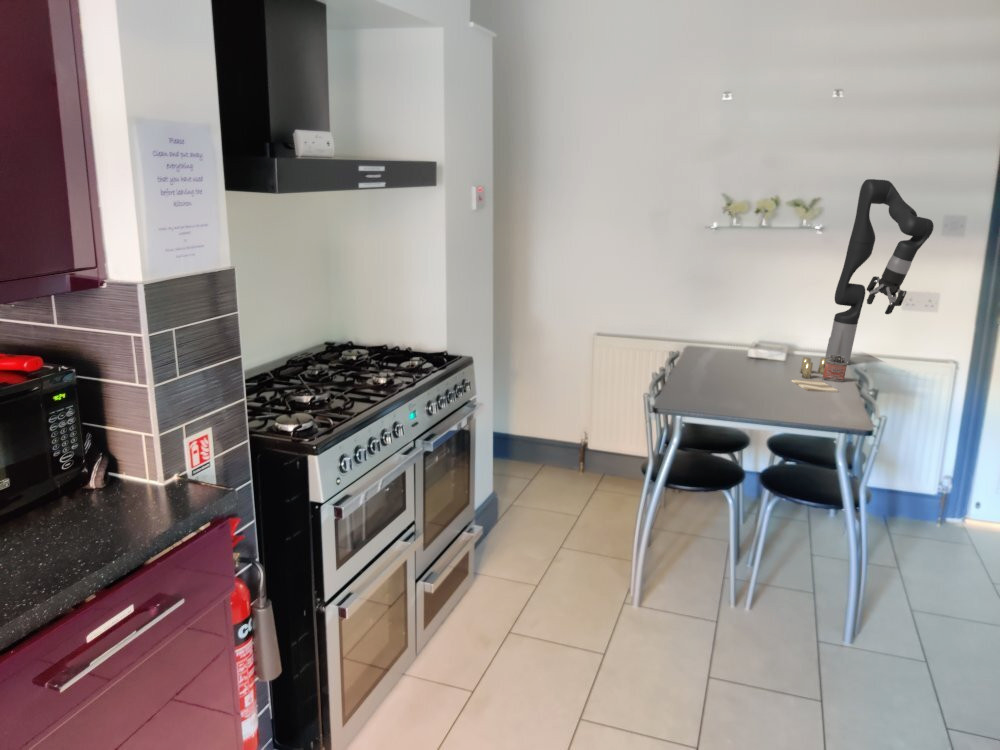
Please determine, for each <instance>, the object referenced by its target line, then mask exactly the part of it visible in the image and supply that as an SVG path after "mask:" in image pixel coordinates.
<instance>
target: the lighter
mask: <svg viewBox="0 0 1000 750" xmlns="http://www.w3.org/2000/svg"><path fill="white" fill-rule="evenodd" d="M828 358H832V359H831V360H826V361H825V362H826V364H825V369H824V373H823V374H822V376H821V377H822V378H821V380H822V381H827V382H831V383H832V382H833V383H845V376H846V370H847V367H848V365H849V364H848V363H847V362H844V361H845V358H846V357H842V356H840V355H837V356H836V355H829V357H828ZM841 360H842V361H841Z"/></svg>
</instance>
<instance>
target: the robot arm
mask: <svg viewBox="0 0 1000 750" xmlns="http://www.w3.org/2000/svg"><path fill="white" fill-rule="evenodd" d="M857 201H858V202H857V207H856V213H855V218H854V222H853V227H852V231H851V234H850V238H849V242H848V246H847V250H846V255H845V258H844V263H843V267H842V271H841V274H840V276H839V279H838V282H837V286H836V288H835V289H836V290H835V293H834V302H835V304H837V305H838V306H845V307H850V308H849V309H847V310H845V311H841V312H837V313H835V314H834V318H833V323H832V328H831V332H830V336H829V338H828V343H827V347H826V351H825V357H824V358H828V357H829V355H836V356H837V355H840V356H842V357H846V358H845V361H844V362H849V363H850V361H851V360H850V359H851V356H852V351H853V346H854V342H855V338H856V333H857V328H858V323H859V319H860V317H861V312H862V308H863V304H864V301H865V298H866V291H867V292H868V293H869V295H868V297H867V299H866V304H867V305H872V304H873V303H874V300H875V298H876V296H877V295H876V294H878V293H880V294H883V295H884V296H886V297H887V298H888V302H889V304H887V305H888V306H887V308H886V309H885V311H884V314H885V315H890V314H892V313H893V310H894V309H895V307H901V306H902V304H903V303H904V300H905V298H906V294H907V290H903V289H901V288H900V287H901V286H902V284H903V283H904V281H905V278H906V276H907V275H908V272H909V270H910V269H911V265H912V263H913V260H914V259H915V257H916V254H917V252H918V251H919V250H920V248H921V247H922V246H923V245H924V243H925V242H926V241H927V240H928V239H929V238H930V236H931V235H932V233H933V231H934V225H935V224H934V222H933V221H932V219H929V218H927V217H926V218H925V217H921V216H918V214H917V212H916V210H915V209H914V208H912V206H910V205H909V204H908V202H907V203H906V202H905V200H904V199H903V197H902V196H901V194H900V193H899V191H898V190H897V188H896V186H895V185H894V184H893V182H891V181H890V180H885V179H875V178H867V179H866V180H864V181H863V183H862V185H861V187H860V188H859V194H858V199H857ZM872 204H873V205H882V204H883V205H886V206H888V214H889V216H890V218H891V219H892V220H893V221H894V222H895V223H896V224H898V225H897V226H898V227H899V231H900V232H901V233H903V234H905V235H906V236H910V238H909V239H904V240H899V242H898V243H897V244H896V247H895V249H894V250H893V253H892V255H891V256H890V258H889V260H888V261H887V264H886V266H885V268H884V270H883V272H882V274H881V278H880V276H872V278H871V279H870V282H869V283H868V285H867V287H866V288H865V285H864V284H859V283H852V282H851V283H850V280H851V279H852V277H853V275H854V274H855V273H856V271H857V270H858V269H859V268H860V267H861V266H863V264H865V262H867V260H869V258H870V257H871V256H872V254H873V253H872V252H873V250H874V246H875V241H876V233H875V230H874V228H873V225H872V222H871V217H870V215H871V214H870V213H871V212H870V211H871V207H872ZM877 284H878V286H877ZM828 359H829V360H831V359H832V358H828ZM841 361H842V360H841Z"/></svg>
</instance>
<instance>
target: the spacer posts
mask: <svg viewBox="0 0 1000 750" xmlns="http://www.w3.org/2000/svg"><path fill="white" fill-rule="evenodd" d="M826 360H829V359H828V358H825V357H820V360H819V364H818V365H819V366H818V370H817V374H819V375H823V373H824V369H825V364H826V362H825V361H826ZM813 364H814V363H813V362H812V358H811V357H806V356H802V361H801V367H800V372H799V373H800V374H801V378H802V379H804V380H810V379H811V375H812V371H813V366H814V365H813Z"/></svg>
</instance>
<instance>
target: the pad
mask: <svg viewBox="0 0 1000 750" xmlns="http://www.w3.org/2000/svg"><path fill="white" fill-rule="evenodd" d="M791 382H792V383H794V384H795V385H798V386H799V387H800V388H802V389H804V390H806V391H808V392H809V391H810V392H824V393H825V392H827V393H839V389H836V388H834V387H833V386H830V384H828V383H825V382H824V381H823V380H822V381H821V380H810V379H791Z"/></svg>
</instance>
